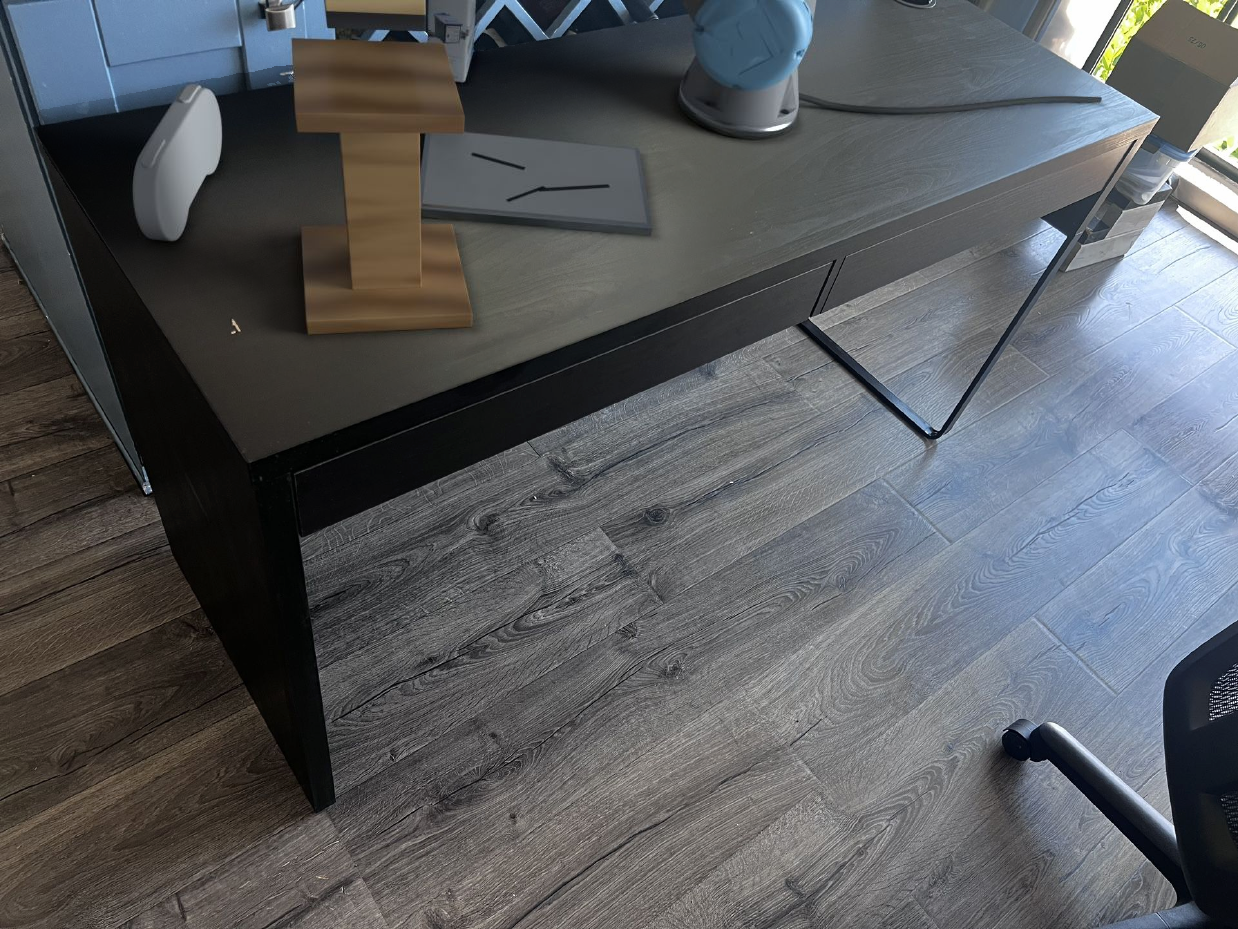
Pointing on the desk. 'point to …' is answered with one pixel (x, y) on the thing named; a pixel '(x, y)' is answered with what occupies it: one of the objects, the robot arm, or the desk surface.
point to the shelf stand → (379, 187)
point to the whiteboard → (534, 183)
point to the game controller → (177, 163)
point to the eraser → (376, 14)
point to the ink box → (453, 31)
